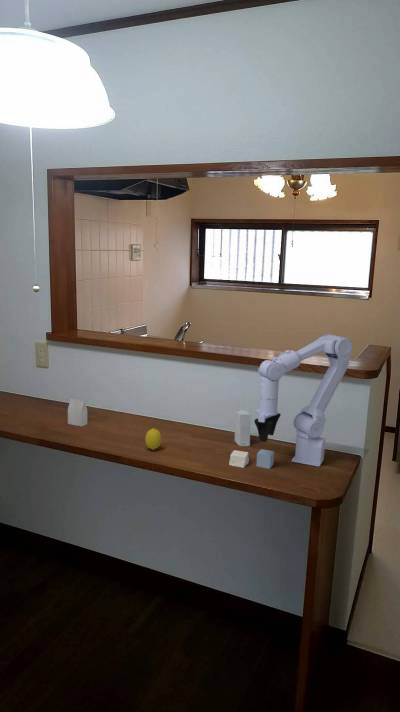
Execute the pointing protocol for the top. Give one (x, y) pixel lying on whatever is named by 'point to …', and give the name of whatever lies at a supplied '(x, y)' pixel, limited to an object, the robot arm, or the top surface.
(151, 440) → the lemon
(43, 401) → the top surface
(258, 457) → the blue cube
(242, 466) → the slab bottom
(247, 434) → the skincare box
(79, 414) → the white upright block
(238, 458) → the slab top
